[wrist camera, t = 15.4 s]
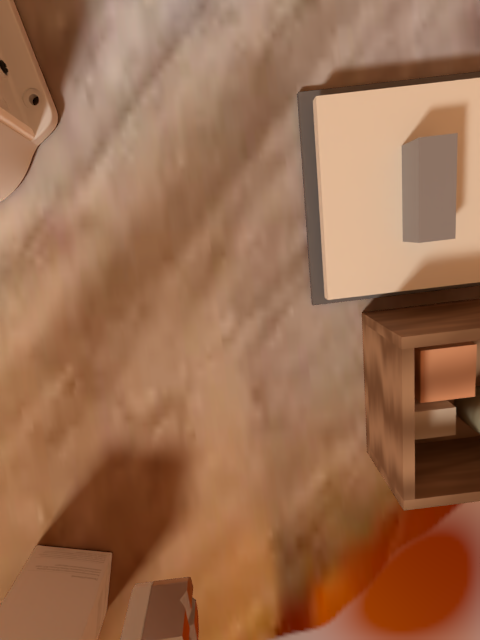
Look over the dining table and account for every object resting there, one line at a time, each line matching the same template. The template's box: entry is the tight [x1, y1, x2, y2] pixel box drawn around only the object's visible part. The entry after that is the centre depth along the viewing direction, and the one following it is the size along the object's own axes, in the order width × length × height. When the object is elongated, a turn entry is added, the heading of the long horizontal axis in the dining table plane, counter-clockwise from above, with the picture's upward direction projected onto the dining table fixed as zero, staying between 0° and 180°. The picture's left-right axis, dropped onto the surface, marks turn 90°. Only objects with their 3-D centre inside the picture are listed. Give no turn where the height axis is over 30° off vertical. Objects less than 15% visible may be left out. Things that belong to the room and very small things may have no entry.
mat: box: [297, 72, 480, 305], centre depth 36 cm, size 19×19×1 cm
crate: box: [362, 299, 480, 510], centre depth 36 cm, size 16×16×9 cm
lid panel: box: [313, 78, 480, 300], centre depth 33 cm, size 17×17×5 cm
